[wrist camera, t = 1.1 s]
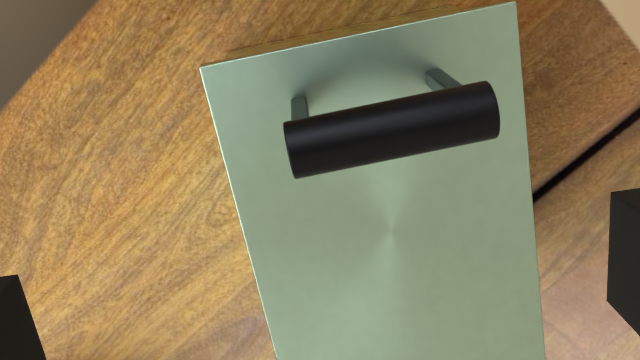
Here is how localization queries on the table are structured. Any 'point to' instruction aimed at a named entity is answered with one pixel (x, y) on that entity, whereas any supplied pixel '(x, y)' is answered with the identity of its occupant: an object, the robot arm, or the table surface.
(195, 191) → the table surface
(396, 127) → the freezer lid
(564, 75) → the table surface
